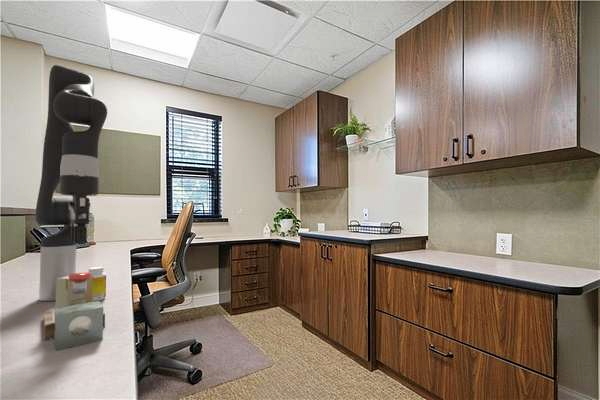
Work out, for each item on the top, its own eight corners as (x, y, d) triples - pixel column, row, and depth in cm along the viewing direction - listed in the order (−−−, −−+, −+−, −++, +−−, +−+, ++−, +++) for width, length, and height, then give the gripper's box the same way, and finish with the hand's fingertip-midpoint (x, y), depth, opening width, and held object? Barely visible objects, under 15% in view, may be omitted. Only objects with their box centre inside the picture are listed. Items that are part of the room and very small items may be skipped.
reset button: (67, 292, 64) (68, 274, 64) (89, 289, 66) (90, 271, 67) (68, 296, 61) (69, 277, 61) (92, 292, 63) (92, 274, 64)
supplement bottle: (108, 299, 94) (109, 267, 94) (87, 303, 89) (88, 270, 90) (102, 296, 97) (102, 265, 98) (82, 300, 93) (83, 268, 93)
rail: (44, 319, 76) (44, 307, 76) (94, 309, 83) (95, 299, 84) (44, 340, 63) (45, 326, 63) (104, 326, 70) (105, 314, 71)
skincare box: (67, 331, 68) (68, 279, 68) (53, 330, 69) (54, 278, 69) (93, 321, 74) (94, 273, 75) (79, 320, 75) (80, 273, 76)
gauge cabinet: (53, 341, 63) (55, 308, 63) (98, 331, 68) (99, 300, 68) (55, 351, 58) (56, 316, 58) (102, 339, 63) (103, 307, 64)
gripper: (58, 178, 73) (56, 242, 72) (61, 170, 63) (59, 245, 62) (94, 180, 78) (93, 240, 77) (103, 173, 68) (101, 242, 67)
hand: (78, 242), depth 70 cm, fingers open, 8 cm apart
